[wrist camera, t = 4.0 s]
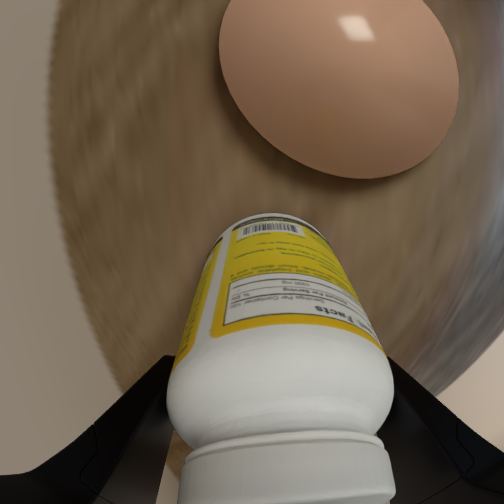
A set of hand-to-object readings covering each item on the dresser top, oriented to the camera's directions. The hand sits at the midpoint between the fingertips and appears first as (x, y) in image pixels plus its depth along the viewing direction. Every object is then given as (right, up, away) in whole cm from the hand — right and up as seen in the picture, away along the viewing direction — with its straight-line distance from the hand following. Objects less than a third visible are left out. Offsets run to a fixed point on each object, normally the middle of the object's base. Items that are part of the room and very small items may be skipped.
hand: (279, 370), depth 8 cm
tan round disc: (+3, +12, +1) cm, 12 cm away
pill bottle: (0, +3, +6) cm, 6 cm away
